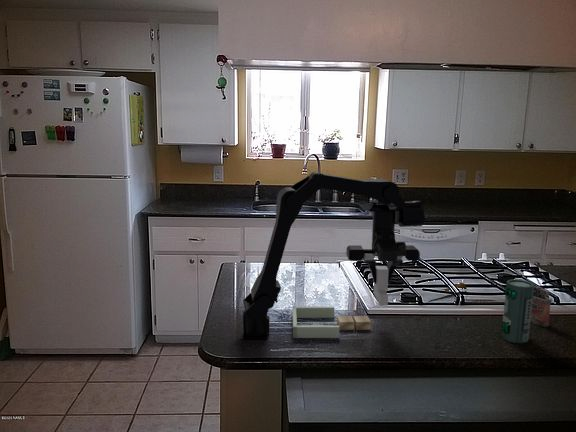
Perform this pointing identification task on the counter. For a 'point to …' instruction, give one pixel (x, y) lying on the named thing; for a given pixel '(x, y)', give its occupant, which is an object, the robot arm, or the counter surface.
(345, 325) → the chip
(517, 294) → the can
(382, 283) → the grey stepped block
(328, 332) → the green u-shaped frame
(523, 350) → the counter surface
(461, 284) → the primitive tool
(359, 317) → the chip
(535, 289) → the red printed box
